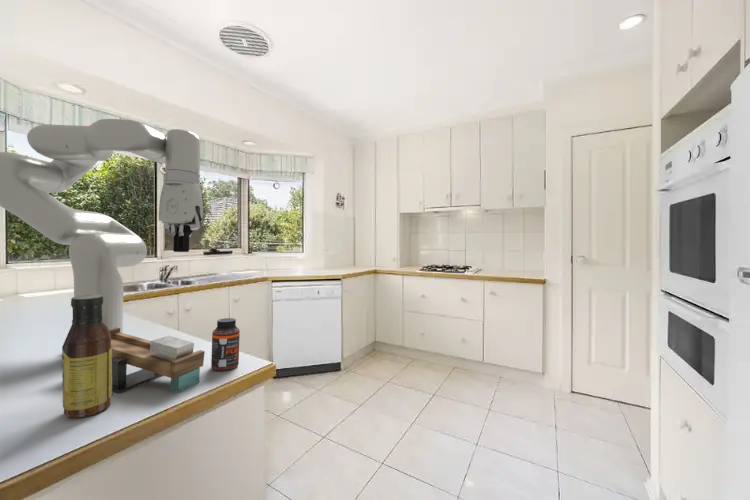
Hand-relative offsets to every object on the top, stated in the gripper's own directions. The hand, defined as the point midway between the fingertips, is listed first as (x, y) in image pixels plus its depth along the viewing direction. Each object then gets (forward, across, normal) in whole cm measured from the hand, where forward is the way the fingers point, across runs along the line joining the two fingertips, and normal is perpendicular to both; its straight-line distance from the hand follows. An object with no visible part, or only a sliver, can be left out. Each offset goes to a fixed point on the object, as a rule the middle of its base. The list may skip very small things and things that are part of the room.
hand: (181, 251), depth 80 cm
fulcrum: (+27, +4, -13) cm, 30 cm away
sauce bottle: (+27, +9, -25) cm, 38 cm away
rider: (+22, +12, -13) cm, 28 cm away
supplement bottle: (+27, +16, -2) cm, 32 cm away
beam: (+25, +4, -13) cm, 28 cm away
